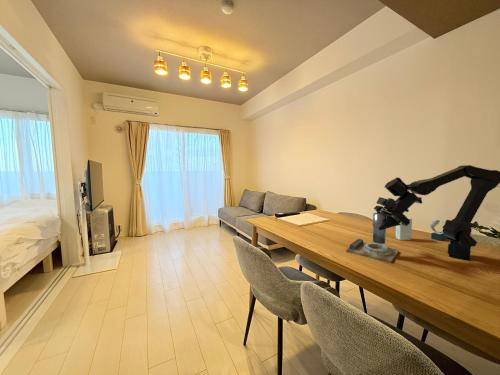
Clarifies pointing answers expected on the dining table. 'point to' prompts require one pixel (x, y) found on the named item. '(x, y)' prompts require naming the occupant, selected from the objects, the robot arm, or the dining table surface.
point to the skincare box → (404, 231)
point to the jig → (373, 250)
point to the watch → (436, 234)
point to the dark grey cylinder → (378, 235)
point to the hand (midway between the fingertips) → (376, 227)
